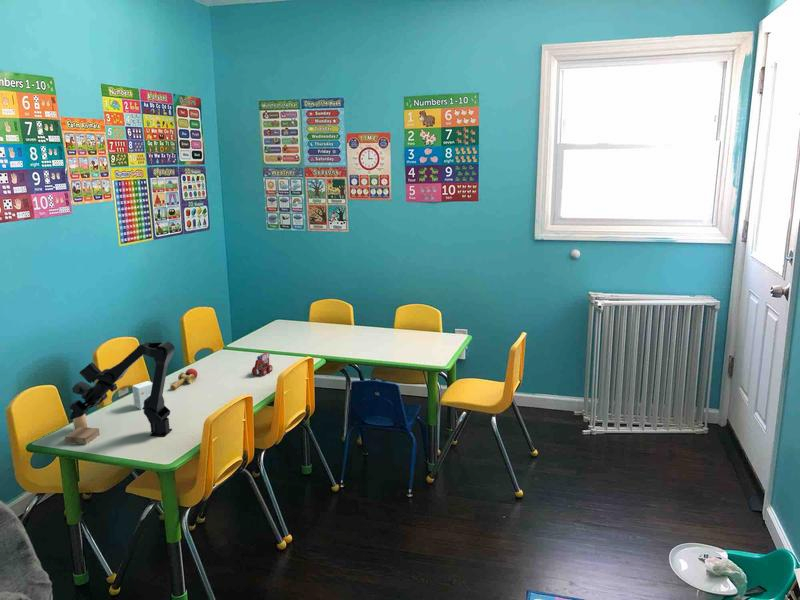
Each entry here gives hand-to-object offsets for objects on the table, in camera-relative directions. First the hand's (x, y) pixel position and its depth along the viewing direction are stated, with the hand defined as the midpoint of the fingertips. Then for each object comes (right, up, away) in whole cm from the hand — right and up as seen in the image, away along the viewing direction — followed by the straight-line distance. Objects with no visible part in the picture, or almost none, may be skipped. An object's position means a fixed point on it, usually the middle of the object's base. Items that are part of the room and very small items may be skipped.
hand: (77, 414), depth 265 cm
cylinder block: (+1, -7, +2) cm, 7 cm away
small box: (+18, -1, +27) cm, 32 cm away
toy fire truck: (+63, +9, +67) cm, 92 cm away
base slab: (+5, -9, -6) cm, 12 cm away
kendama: (+27, +5, +53) cm, 60 cm away
